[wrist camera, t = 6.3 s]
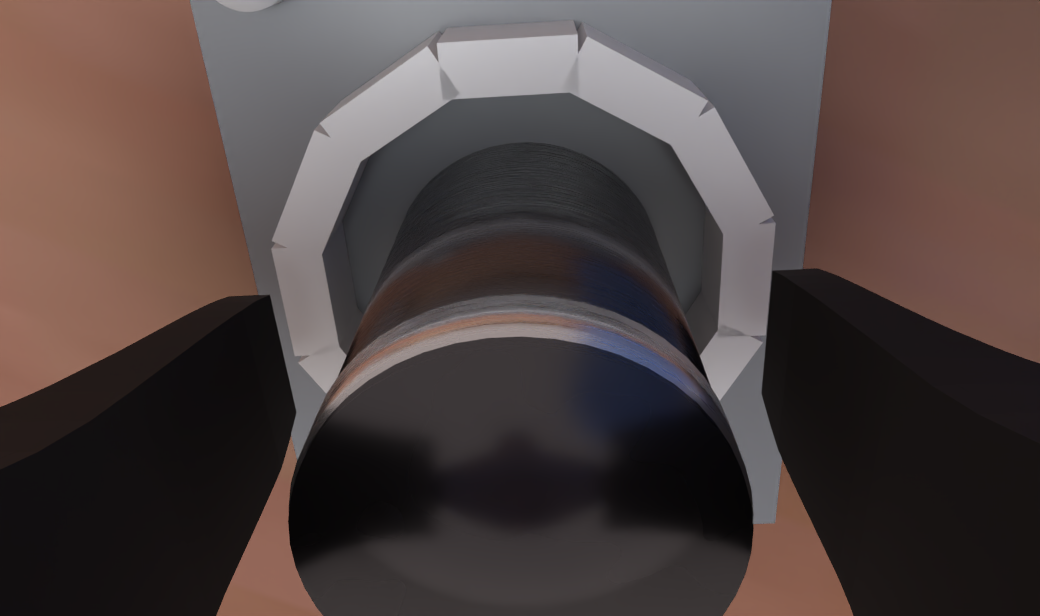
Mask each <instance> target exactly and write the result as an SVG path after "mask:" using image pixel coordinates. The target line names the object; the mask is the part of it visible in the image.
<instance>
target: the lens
mask: <svg viewBox="0 0 1040 616" xmlns="http://www.w3.org/2000/svg"><path fill="white" fill-rule="evenodd" d="M753 515H754V513H753V501H752V490H751V486H750V482H749V478H748V475H747V471H746V467H745V464H744V461H743V459H742V456H741V453H740V451H739V448H738V445H737V443H736V440H735V437H734V435H733V432H732V429H731V427H730V424H729V421H728V419H727V417H726V414H725V412H724V410H723V408H722V406H721V403H720V401H719V399H718V397H717V396H716V394H715V393H714V391H713V389H712V388H711V386H710V383H709V380H708V377H707V375H706V372H705V369H704V366H703V364H702V361H701V358H700V355H699V353H698V350H697V347H696V344H695V342H694V339H693V336H692V333H691V331H690V328H689V325H688V322H687V320H686V317H685V314H684V311H683V309H682V306H681V303H680V300H679V298H678V295H677V292H676V290H675V287H674V284H673V281H672V279H671V276H670V273H669V270H668V268H667V265H666V262H665V259H664V257H663V254H662V251H661V248H660V246H659V243H658V240H657V237H656V235H655V232H654V229H653V226H652V224H651V222H650V220H649V217H648V215H647V213H646V211H645V209H644V207H643V206H642V204H641V203H640V201H639V199H638V198H637V196H636V195H635V194H634V193H633V191H632V190H631V189H630V188H629V187H628V185H627V184H626V183H625V182H624V181H623V180H622V179H620V178H619V177H618V176H617V175H616V174H615V173H614V172H613V171H611V170H610V169H608V168H607V167H605V166H604V165H602V164H601V163H599V162H598V161H596V160H594V159H592V158H590V157H588V156H586V155H584V154H582V153H579V152H577V151H574V150H571V149H568V148H565V147H561V146H556V145H551V144H546V143H532V142H521V143H507V144H502V145H497V146H491V147H488V148H485V149H482V150H479V151H476V152H473V153H471V154H469V155H467V156H465V157H462V158H460V159H458V160H456V161H455V162H453V163H452V164H450V165H449V166H447V167H446V168H444V169H443V170H441V171H440V172H439V173H438V174H437V175H436V176H435V177H433V178H432V179H431V180H430V181H429V182H428V183H427V184H426V185H425V187H424V188H423V189H422V190H421V191H420V192H419V194H418V195H417V196H416V198H415V199H414V201H413V203H412V204H411V206H410V207H409V209H408V211H407V213H406V215H405V218H404V220H403V222H402V224H401V227H400V229H399V231H398V234H397V236H396V239H395V241H394V243H393V246H392V248H391V251H390V253H389V255H388V258H387V260H386V263H385V265H384V267H383V270H382V272H381V274H380V277H379V279H378V282H377V284H376V286H375V289H374V291H373V294H372V296H371V298H370V301H369V303H368V306H367V308H366V310H365V313H364V315H363V318H362V320H361V322H360V325H359V327H358V329H357V332H356V334H355V337H354V339H353V341H352V344H351V346H350V349H349V351H348V353H347V356H346V358H345V361H344V363H343V365H342V368H341V370H340V373H339V375H338V377H337V379H336V380H335V382H334V383H333V385H332V386H331V388H330V389H329V391H328V392H327V394H326V396H325V398H324V400H323V403H322V405H321V407H320V409H319V411H318V413H317V416H316V418H315V420H314V423H313V425H312V427H311V430H310V432H309V434H308V437H307V439H306V441H305V444H304V446H303V448H302V451H301V453H300V455H299V458H298V460H297V463H296V467H295V471H294V475H293V478H292V482H291V489H290V500H289V519H288V524H289V536H290V546H291V550H292V554H293V558H294V562H295V566H296V569H297V571H298V573H299V576H300V578H301V580H302V583H303V585H304V587H305V589H306V591H307V592H308V594H309V596H310V597H311V599H312V601H313V602H314V604H315V605H316V607H317V609H318V610H319V611H320V612H321V613H322V615H323V616H723V614H724V613H725V611H726V610H727V608H728V607H729V605H730V603H731V602H732V600H733V599H734V597H735V596H736V594H737V591H738V589H739V587H740V585H741V582H742V580H743V578H744V576H745V573H746V570H747V566H748V562H749V558H750V554H751V549H752V538H753Z"/></svg>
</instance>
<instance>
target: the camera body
mask: <svg viewBox="0 0 1040 616" xmlns="http://www.w3.org/2000/svg"><path fill="white" fill-rule="evenodd" d="M831 2H832V0H190V4H191V8H192V12H193V17H194V21H195V25H196V29H197V34H198V38H199V42H200V46H201V51H202V55H203V59H204V64H205V68H206V72H207V76H208V81H209V85H210V89H211V94H212V98H213V102H214V106H215V111H216V115H217V119H218V123H219V128H220V132H221V136H222V141H223V145H224V149H225V153H226V158H227V162H228V166H229V171H230V175H231V179H232V183H233V188H234V192H235V196H236V200H237V205H238V209H239V213H240V218H241V222H242V226H243V230H244V235H245V239H246V243H247V248H248V252H249V256H250V260H251V265H252V269H253V273H254V277H255V282H256V286H257V290H258V295H270V297H271V302H272V306H273V311H274V315H275V320H276V324H277V328H278V333H279V337H280V342H281V346H282V350H283V355H284V359H285V364H286V368H287V372H288V377H289V381H290V386H291V390H292V395H293V399H294V403H295V408H296V412H297V413H296V417H295V420H294V424H293V428H292V432H291V436H292V440H293V444H294V449H295V453H296V457H297V460H298V458H299V455H300V453H301V451H302V448H303V446H304V444H305V441H306V439H307V437H308V434H309V432H310V430H311V427H312V425H313V423H314V420H315V418H316V416H317V413H318V411H319V409H320V407H321V405H322V403H323V400H324V398H325V396H326V394H327V392H328V391H329V389H330V388H331V386H332V385H333V383H334V382H335V380H336V379H337V377H338V375H339V373H340V370H341V368H342V365H343V363H344V361H345V358H346V356H347V353H348V351H349V349H350V346H351V344H352V341H353V339H354V337H355V334H356V332H357V329H358V327H359V325H360V322H361V320H362V318H363V315H364V313H365V310H366V308H367V306H368V303H369V301H370V298H371V296H372V294H373V291H374V289H375V286H376V284H377V282H378V279H379V277H380V274H381V272H382V270H383V267H384V265H385V263H386V260H387V258H388V255H389V253H390V251H391V248H392V246H393V243H394V241H395V239H396V236H397V234H398V231H399V229H400V227H401V224H402V222H403V220H404V218H405V215H406V213H407V211H408V209H409V207H410V206H411V204H412V203H413V201H414V199H415V198H416V196H417V195H418V194H419V192H420V191H421V190H422V189H423V188H424V187H425V185H426V184H427V183H428V182H429V181H430V180H431V179H432V178H433V177H435V176H436V175H437V174H438V173H439V172H440V171H441V170H443V169H444V168H446V167H447V166H449V165H450V164H452V163H453V162H455V161H456V160H458V159H460V158H462V157H465V156H467V155H469V154H471V153H473V152H476V151H479V150H482V149H485V148H488V147H491V146H497V145H502V144H507V143H521V142H532V143H546V144H551V145H556V146H561V147H565V148H568V149H571V150H574V151H577V152H579V153H582V154H584V155H586V156H588V157H590V158H592V159H594V160H596V161H598V162H599V163H601V164H602V165H604V166H605V167H607V168H608V169H610V170H611V171H613V172H614V173H615V174H616V175H617V176H618V177H619V178H620V179H622V180H623V181H624V182H625V183H626V184H627V185H628V187H629V188H630V189H631V190H632V191H633V193H634V194H635V195H636V196H637V198H638V199H639V201H640V203H641V204H642V206H643V207H644V209H645V211H646V213H647V215H648V217H649V220H650V222H651V224H652V226H653V229H654V232H655V235H656V237H657V240H658V243H659V246H660V248H661V251H662V254H663V257H664V259H665V262H666V265H667V268H668V270H669V273H670V276H671V279H672V281H673V284H674V287H675V290H676V292H677V295H678V298H679V300H680V303H681V306H682V309H683V311H684V314H685V317H686V320H687V322H688V325H689V328H690V331H691V333H692V336H693V339H694V342H695V344H696V347H697V350H698V353H699V355H700V358H701V361H702V364H703V366H704V369H705V372H706V375H707V377H708V380H709V383H710V386H711V388H712V389H713V391H714V393H715V394H716V396H717V397H718V399H719V401H720V403H721V406H722V408H723V410H724V412H725V414H726V417H727V419H728V421H729V424H730V427H731V429H732V432H733V435H734V437H735V440H736V443H737V445H738V448H739V451H740V453H741V456H742V459H743V461H744V464H745V467H746V471H747V475H748V478H749V482H750V486H751V490H752V501H753V513H754V515H753V524H765V523H775V519H776V510H777V500H778V491H779V482H780V473H781V463H782V457H781V455H780V453H779V451H778V448H777V445H776V442H775V438H774V435H773V432H772V429H771V426H770V422H769V419H768V415H767V412H766V408H765V405H764V401H763V397H762V394H761V391H762V380H763V369H764V358H765V347H766V336H767V325H768V313H769V302H770V291H771V280H772V271H775V270H796V269H803V261H804V251H805V242H806V233H807V224H808V214H809V205H810V196H811V187H812V178H813V168H814V159H815V150H816V141H817V131H818V122H819V113H820V104H821V95H822V85H823V76H824V67H825V58H826V48H827V39H828V30H829V21H830V12H831Z"/></svg>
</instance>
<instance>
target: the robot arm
mask: <svg viewBox="0 0 1040 616" xmlns="http://www.w3.org/2000/svg"><path fill="white" fill-rule="evenodd" d="M761 394H762V397H763V401H764V405H765V408H766V412H767V415H768V419H769V422H770V426H771V429H772V432H773V435H774V438H775V442H776V445H777V448H778V451H779V453H780V455H781V457H782V460H783V462H784V464H785V466H786V468H787V470H788V473H789V475H790V477H791V479H792V481H793V483H794V485H795V488H796V490H797V492H798V494H799V496H800V498H801V500H802V502H803V505H804V507H805V509H806V511H807V513H808V515H809V517H810V519H811V521H812V523H813V525H814V528H815V530H816V532H817V534H818V536H819V538H820V540H821V542H822V544H823V546H824V548H825V551H826V553H827V555H828V557H829V559H830V561H831V563H832V565H833V567H834V569H835V572H836V574H837V576H838V578H839V580H840V583H841V585H842V588H843V590H844V592H845V595H846V597H847V600H848V602H849V604H850V607H851V610H852V613H853V615H854V616H1040V364H1039V363H1036V362H1033V361H1030V360H1027V359H1024V358H1022V357H1019V356H1016V355H1014V354H1011V353H1008V352H1005V351H1003V350H1000V349H998V348H995V347H993V346H990V345H988V344H985V343H983V342H981V341H978V340H976V339H973V338H971V337H969V336H966V335H964V334H961V333H959V332H956V331H954V330H952V329H950V328H947V327H945V326H943V325H941V324H938V323H936V322H934V321H932V320H930V319H927V318H925V317H923V316H921V315H919V314H917V313H915V312H912V311H910V310H908V309H906V308H904V307H902V306H900V305H898V304H896V303H894V302H892V301H890V300H887V299H885V298H883V297H881V296H879V295H877V294H875V293H873V292H871V291H869V290H867V289H865V288H863V287H861V286H859V285H856V284H854V283H852V282H850V281H848V280H846V279H843V278H841V277H839V276H837V275H834V274H832V273H829V272H826V271H823V270H820V269H796V270H775V271H772V280H771V291H770V302H769V313H768V325H767V336H766V347H765V358H764V369H763V380H762V391H761ZM296 413H297V412H296V408H295V403H294V399H293V395H292V390H291V386H290V381H289V377H288V372H287V368H286V364H285V359H284V355H283V350H282V346H281V342H280V337H279V333H278V328H277V324H276V320H275V315H274V311H273V306H272V302H271V297H270V295H252V296H231V297H226V298H223V299H220V300H217V301H215V302H213V303H210V304H208V305H206V306H204V307H202V308H200V309H198V310H196V311H193V312H192V313H190V314H188V315H186V316H184V317H182V318H180V319H178V320H176V321H174V322H172V323H171V324H169V325H167V326H165V327H163V328H161V329H159V330H158V331H156V332H154V333H152V334H150V335H148V336H146V337H145V338H143V339H141V340H139V341H137V342H135V343H133V344H132V345H130V346H128V347H126V348H124V349H122V350H120V351H118V352H117V353H115V354H113V355H111V356H109V357H107V358H105V359H103V360H101V361H99V362H97V363H95V364H93V365H91V366H89V367H86V368H84V369H82V370H80V371H78V372H76V373H74V374H72V375H70V376H68V377H66V378H64V379H62V380H60V381H58V382H56V383H54V384H52V385H50V386H48V387H46V388H44V389H41V390H39V391H37V392H35V393H33V394H30V395H28V396H26V397H23V398H21V399H19V400H17V401H14V402H12V403H9V404H7V405H4V406H2V407H0V616H216V615H217V612H218V610H219V607H220V605H221V602H222V600H223V597H224V595H225V592H226V590H227V588H228V586H229V584H230V581H231V579H232V577H233V575H234V573H235V571H236V568H237V566H238V564H239V562H240V560H241V557H242V555H243V553H244V551H245V549H246V546H247V544H248V542H249V540H250V538H251V536H252V533H253V531H254V529H255V527H256V525H257V522H258V520H259V518H260V516H261V514H262V511H263V509H264V507H265V505H266V502H267V500H268V498H269V496H270V493H271V491H272V489H273V487H274V484H275V482H276V480H277V477H278V475H279V473H280V470H281V468H282V464H283V461H284V458H285V454H286V451H287V447H288V444H289V440H290V436H291V432H292V428H293V424H294V420H295V417H296Z"/></svg>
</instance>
